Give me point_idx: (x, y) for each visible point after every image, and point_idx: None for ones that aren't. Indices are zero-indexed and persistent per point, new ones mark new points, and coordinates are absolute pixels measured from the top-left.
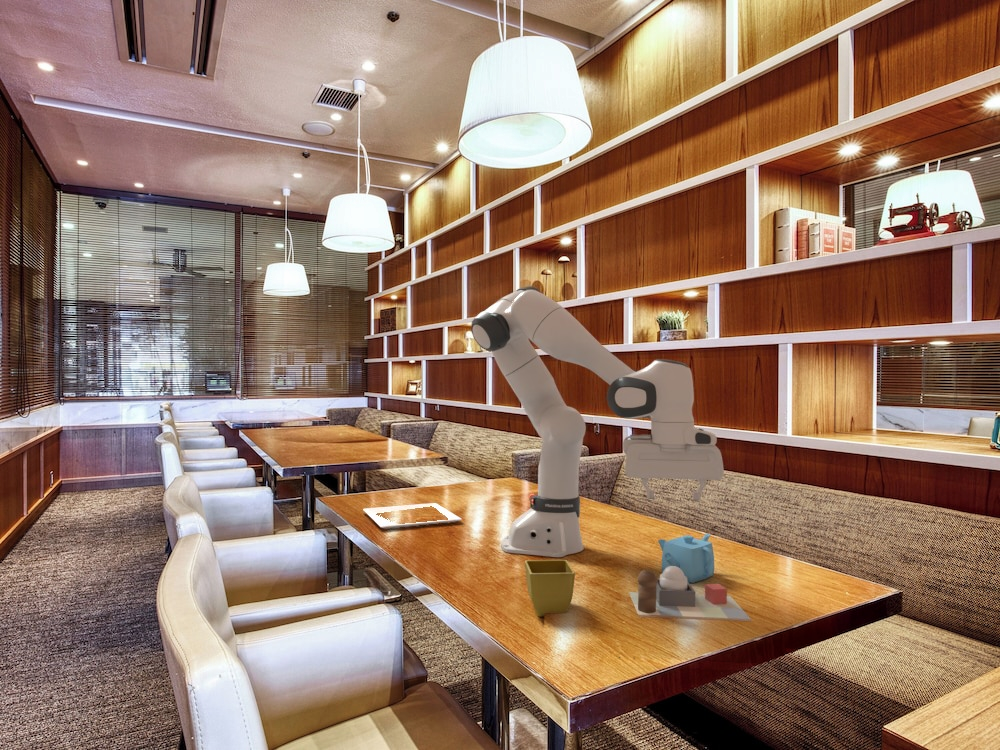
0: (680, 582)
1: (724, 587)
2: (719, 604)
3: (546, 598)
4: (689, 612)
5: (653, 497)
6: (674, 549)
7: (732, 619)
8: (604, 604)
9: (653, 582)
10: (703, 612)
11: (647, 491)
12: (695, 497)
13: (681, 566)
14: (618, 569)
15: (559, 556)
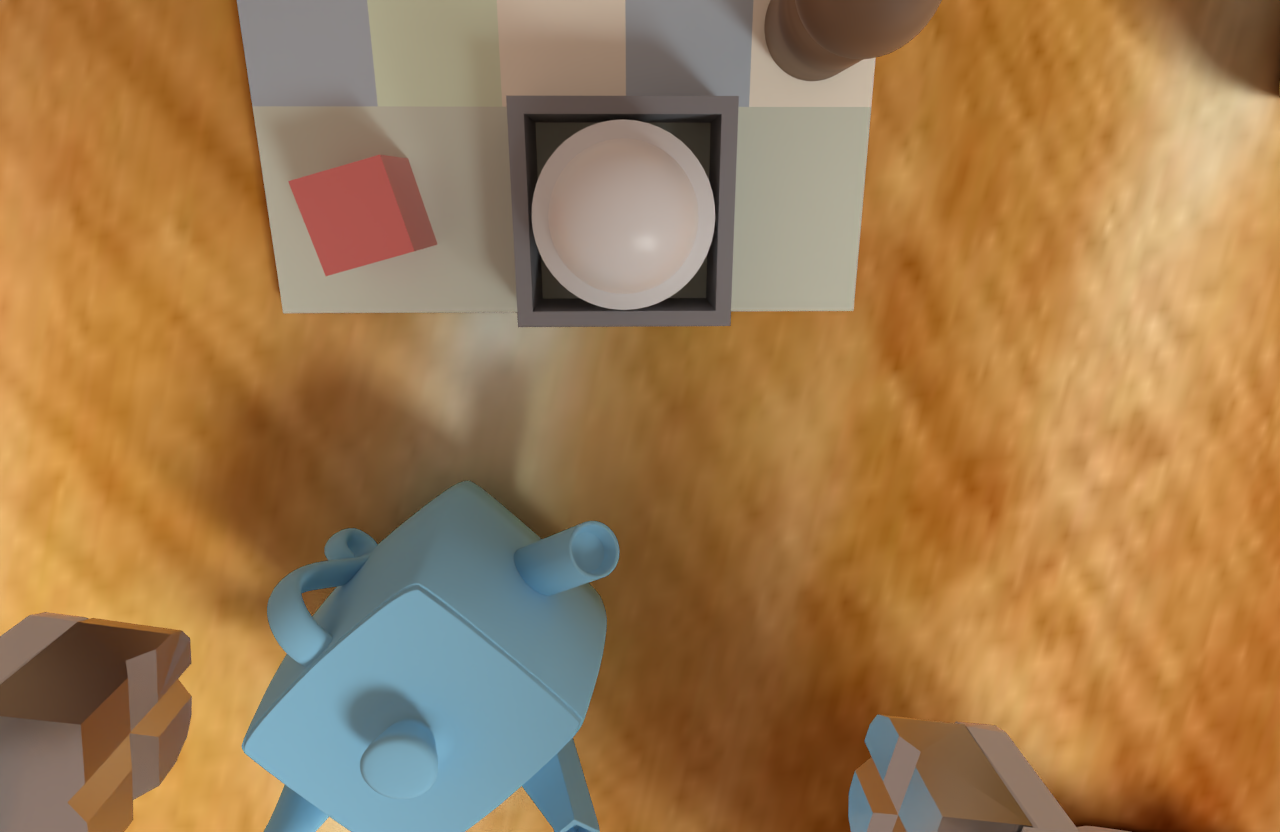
0: (594, 126)
1: (299, 204)
2: None
3: None
4: (573, 6)
5: (903, 722)
6: (528, 644)
7: None
8: (1007, 173)
9: None
10: (490, 15)
11: (1067, 821)
12: (104, 646)
13: (504, 547)
14: (805, 699)
15: (1082, 829)
